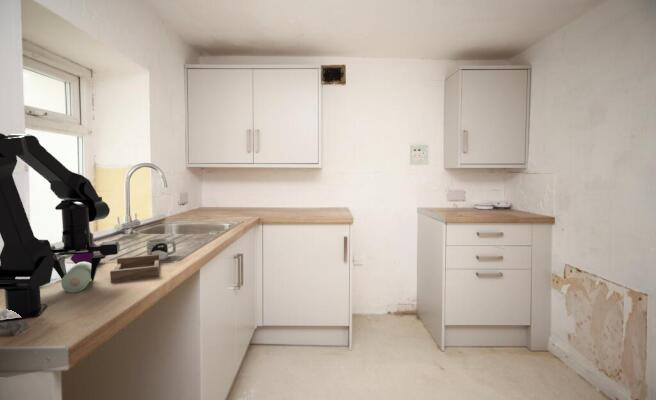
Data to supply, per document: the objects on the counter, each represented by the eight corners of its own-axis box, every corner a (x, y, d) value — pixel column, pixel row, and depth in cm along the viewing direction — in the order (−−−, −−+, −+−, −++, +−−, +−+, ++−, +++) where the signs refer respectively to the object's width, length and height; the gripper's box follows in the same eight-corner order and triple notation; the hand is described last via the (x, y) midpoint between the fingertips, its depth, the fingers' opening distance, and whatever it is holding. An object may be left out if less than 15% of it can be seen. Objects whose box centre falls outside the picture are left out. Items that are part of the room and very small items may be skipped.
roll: (88, 290, 88) (87, 270, 88) (61, 294, 86) (60, 272, 85) (95, 279, 97) (94, 260, 97) (71, 282, 95) (70, 262, 94)
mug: (152, 262, 116) (151, 243, 115) (143, 259, 120) (143, 240, 119) (180, 256, 123) (179, 238, 123) (171, 253, 128) (171, 236, 127)
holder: (158, 276, 100) (157, 266, 100) (110, 281, 95) (110, 271, 95) (159, 262, 115) (158, 254, 115) (117, 266, 110) (117, 257, 109)
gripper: (120, 218, 101) (123, 269, 103) (41, 222, 93) (45, 277, 94) (115, 224, 91) (118, 280, 93) (26, 229, 83) (31, 290, 84)
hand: (79, 281), depth 91 cm, fingers closed on roll, 6 cm apart
